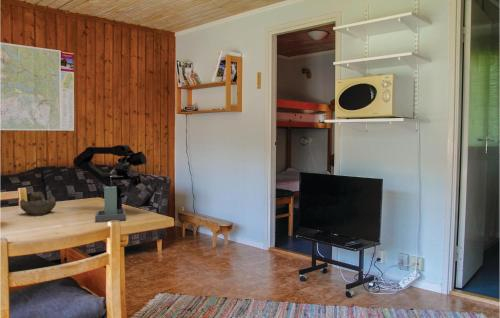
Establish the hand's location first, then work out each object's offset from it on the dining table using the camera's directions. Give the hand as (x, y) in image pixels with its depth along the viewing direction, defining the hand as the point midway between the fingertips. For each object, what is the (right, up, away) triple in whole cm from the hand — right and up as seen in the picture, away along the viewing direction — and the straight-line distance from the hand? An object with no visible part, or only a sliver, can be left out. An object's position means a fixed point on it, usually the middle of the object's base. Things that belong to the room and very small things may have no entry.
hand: (119, 191), depth 206 cm
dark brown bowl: (-42, -12, +6) cm, 44 cm away
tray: (-2, -12, -6) cm, 14 cm away
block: (-2, -11, -6) cm, 13 cm away
